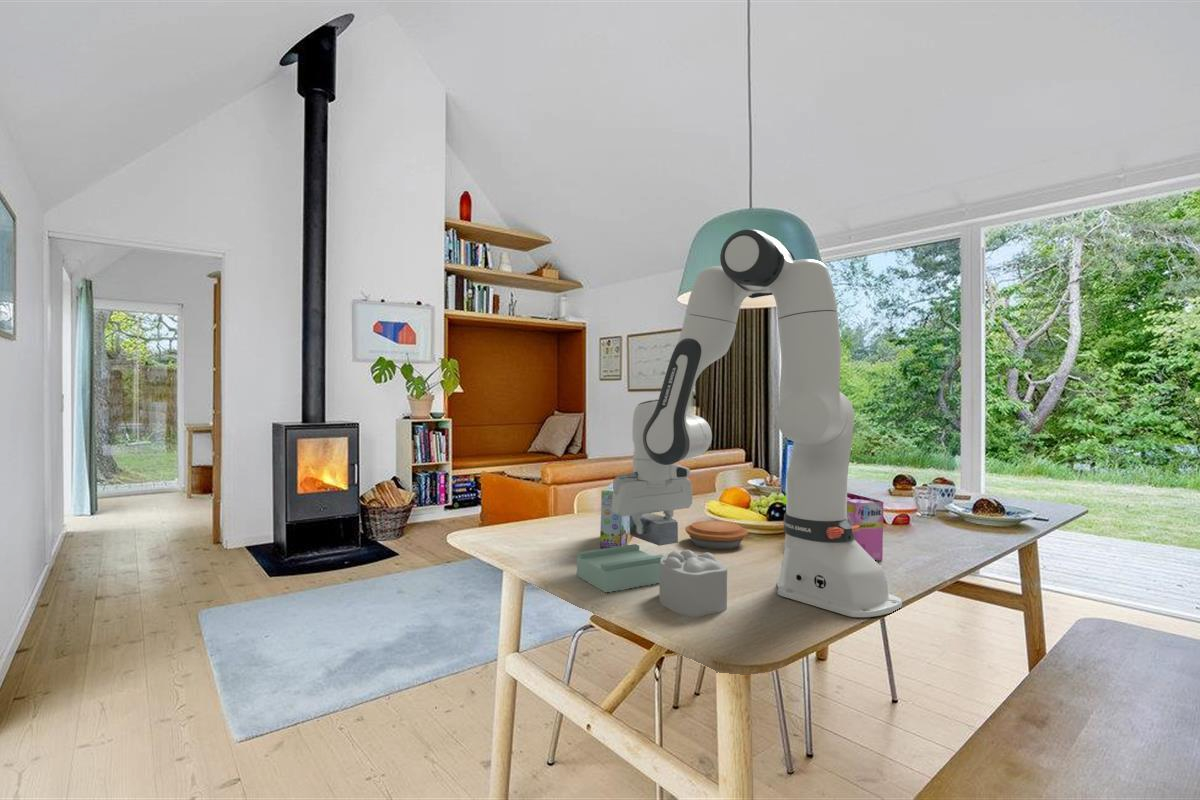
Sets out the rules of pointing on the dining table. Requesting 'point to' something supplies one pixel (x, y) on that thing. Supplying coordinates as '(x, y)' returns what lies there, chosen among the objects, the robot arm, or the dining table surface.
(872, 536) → the gum box
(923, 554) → the dining table surface
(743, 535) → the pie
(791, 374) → the robot arm
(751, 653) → the dining table surface
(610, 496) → the snack box
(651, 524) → the block
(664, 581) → the grey lumpy block
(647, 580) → the stand
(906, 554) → the dining table surface
